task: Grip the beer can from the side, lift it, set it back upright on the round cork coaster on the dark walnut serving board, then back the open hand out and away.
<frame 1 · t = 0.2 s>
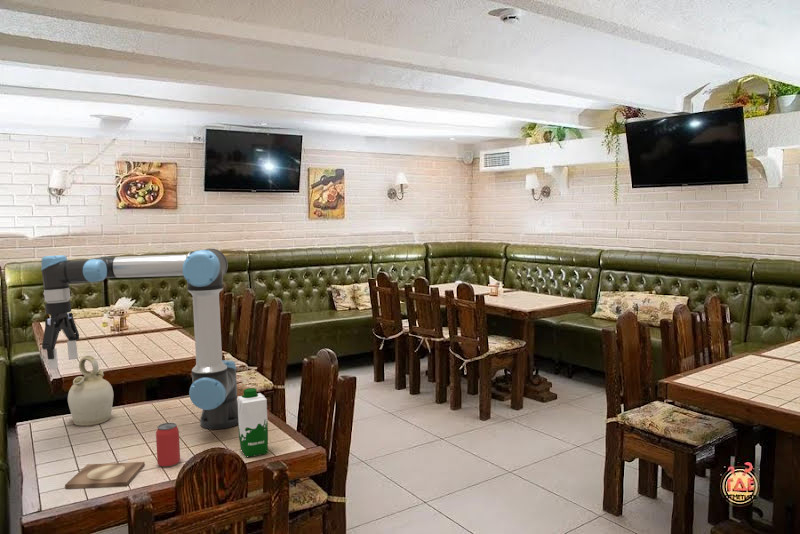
hand: (63, 363, 203), 27 cm above the table, tool pointing down, fingers open, 13 cm apart
serving board: (106, 476, 177), on the table
beer can: (169, 463, 186), on the table
jug: (92, 421, 227), on the table
milk carton: (254, 452, 193), on the table
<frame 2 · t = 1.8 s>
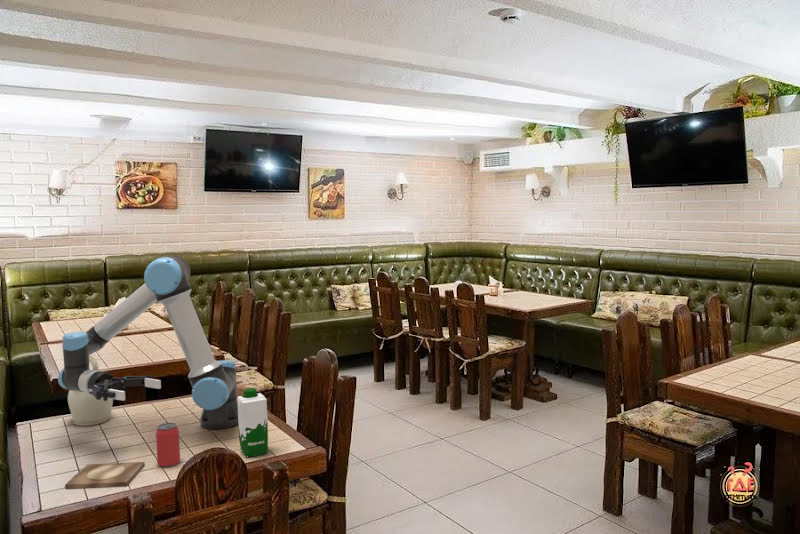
hand: (142, 390, 188), 22 cm above the table, tool horizontal, fingers open, 13 cm apart
nothing on the table moved.
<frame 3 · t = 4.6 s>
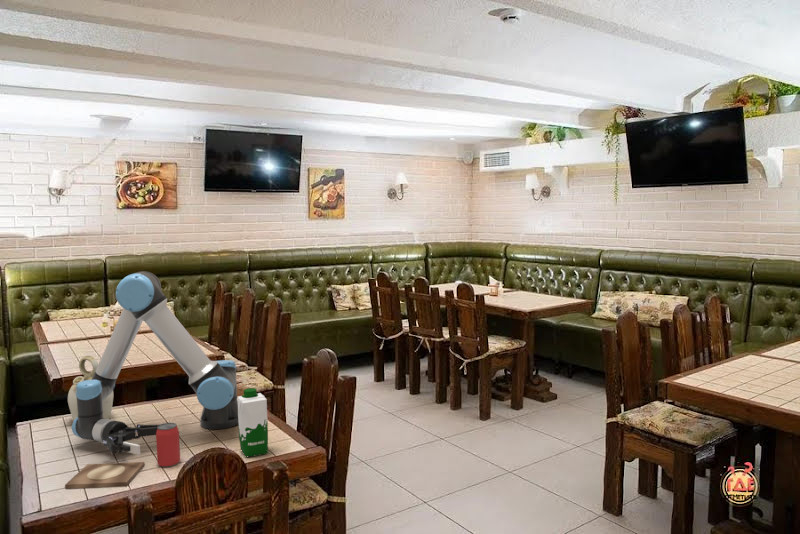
hand: (157, 442, 186), 6 cm above the table, tool horizontal, fingers open, 13 cm apart
nothing on the table moved.
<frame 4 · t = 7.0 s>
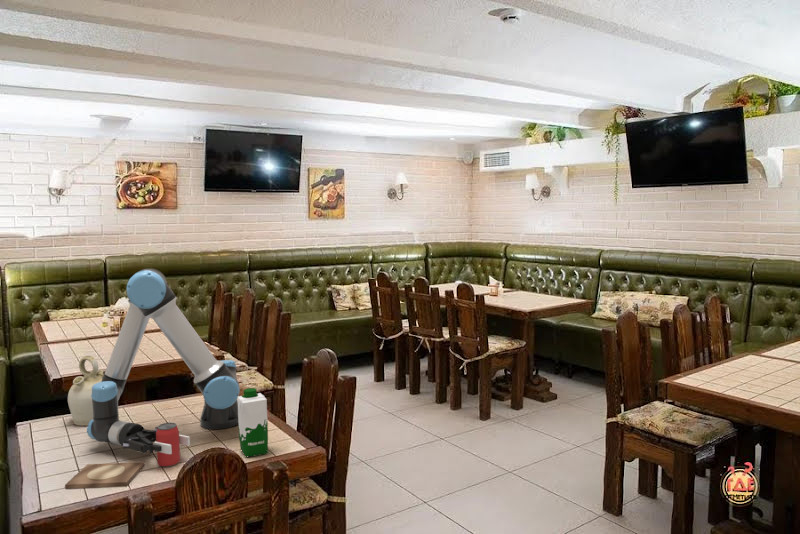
hand: (179, 445, 183), 7 cm above the table, tool horizontal, fingers closed on beer can, 7 cm apart
beer can: (169, 463, 186), on the table, touching gripper
everything else where it was.
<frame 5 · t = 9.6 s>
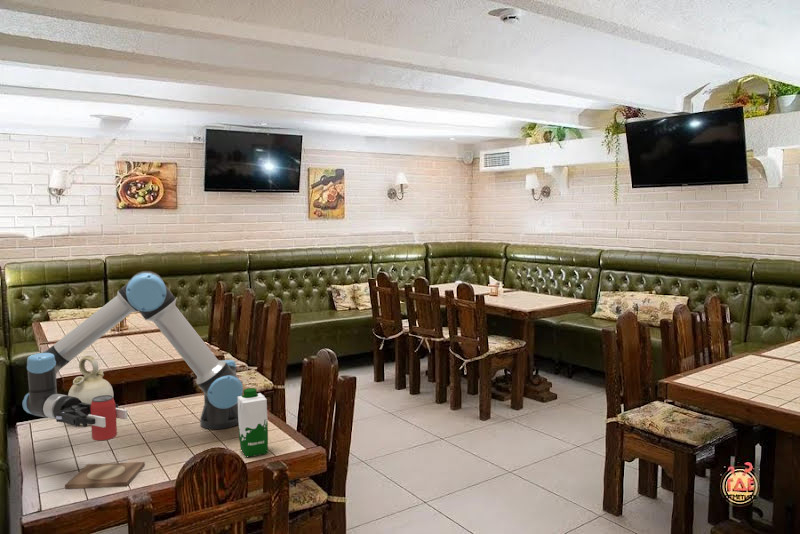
hand: (115, 418, 173), 18 cm above the table, tool horizontal, fingers closed on beer can, 7 cm apart
beer can: (104, 438, 176), point 12 cm above the table, touching gripper
everything else where it was.
when the fingers open (9 cm above the table, at t = 12.0 s): beer can drops 1 cm, resting on serving board.
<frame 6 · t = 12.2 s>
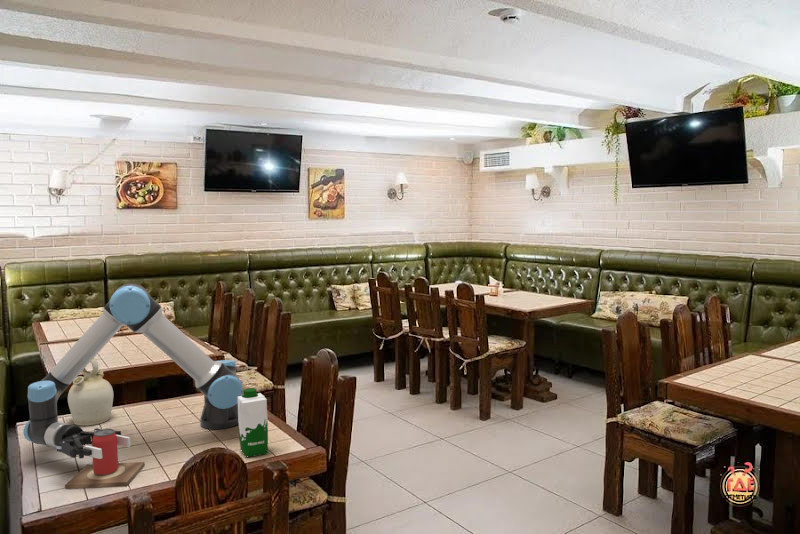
hand: (115, 447, 174), 9 cm above the table, tool horizontal, fingers open, 9 cm apart
beer can: (106, 472, 177), point 1 cm above the table, touching serving board
everything else where it was.
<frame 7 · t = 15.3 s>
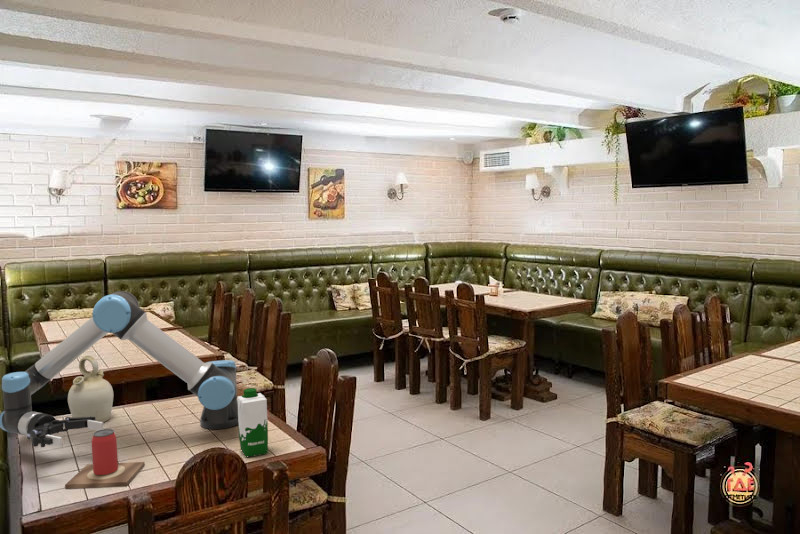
hand: (82, 434, 181), 11 cm above the table, tool horizontal, fingers open, 13 cm apart
nothing on the table moved.
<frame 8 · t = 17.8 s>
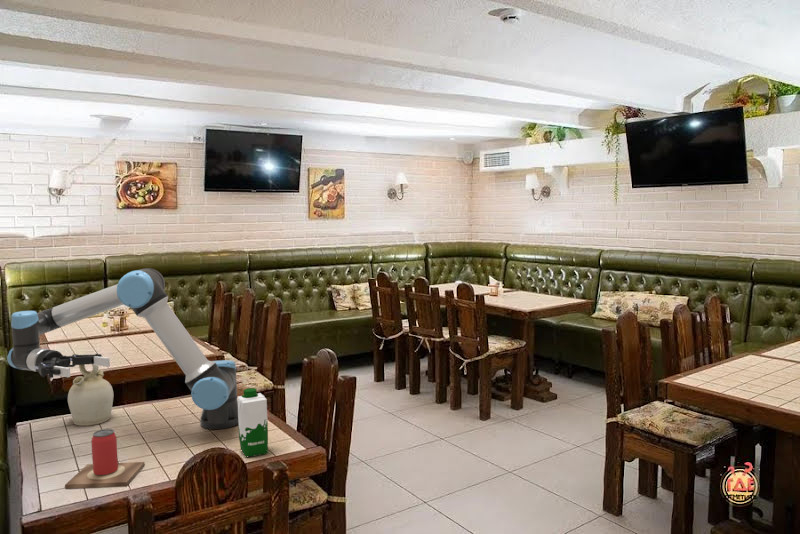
hand: (89, 367, 186), 30 cm above the table, tool horizontal, fingers open, 13 cm apart
nothing on the table moved.
at the end: beer can inside the target area on the serving board (0.1 cm from its centre), point 1.3 cm above the serving board's base; beer can tilted 0°; the gripper is holding nothing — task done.
